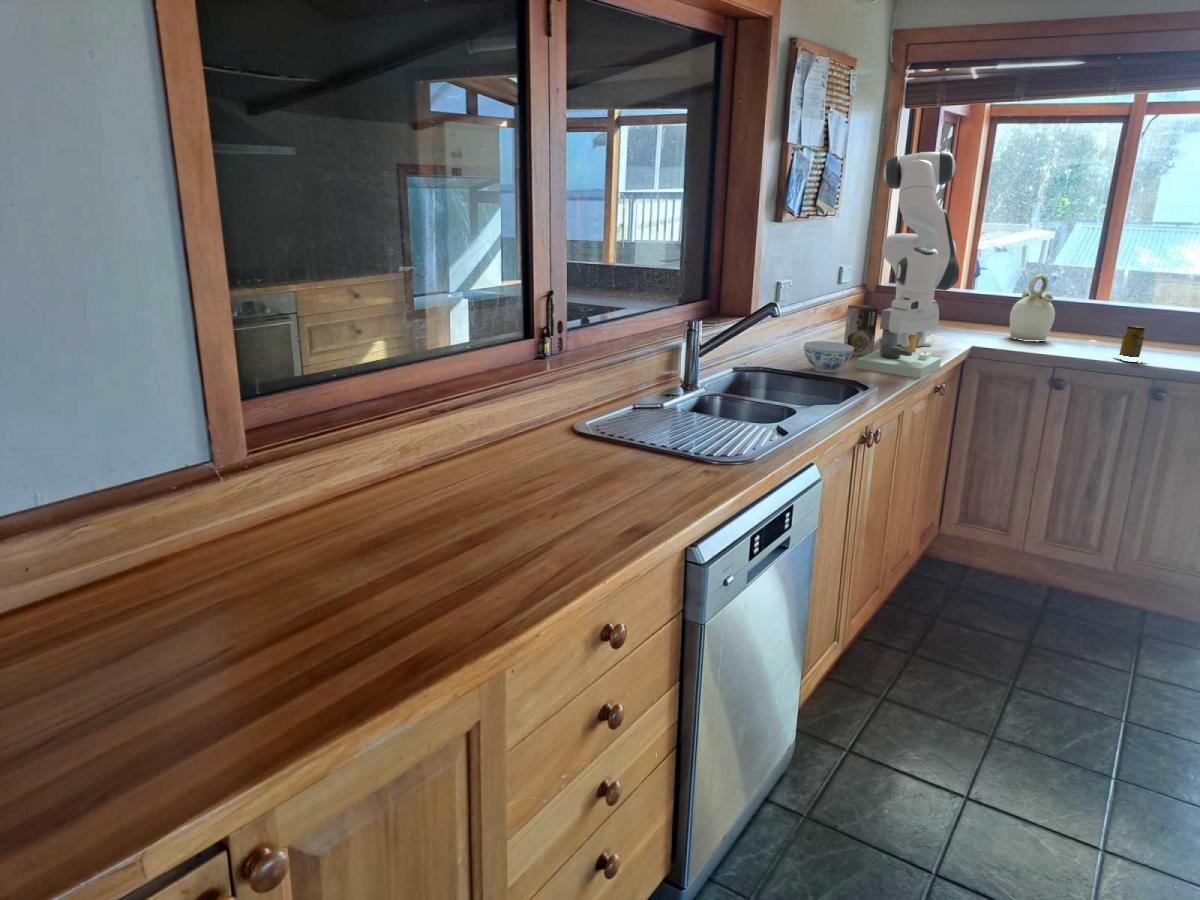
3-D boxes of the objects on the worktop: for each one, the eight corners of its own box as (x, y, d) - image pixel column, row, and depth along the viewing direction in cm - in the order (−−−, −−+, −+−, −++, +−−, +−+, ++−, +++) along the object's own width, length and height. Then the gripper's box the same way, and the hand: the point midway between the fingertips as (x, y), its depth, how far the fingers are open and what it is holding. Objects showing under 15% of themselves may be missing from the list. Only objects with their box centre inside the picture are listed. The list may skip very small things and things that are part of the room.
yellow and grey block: (876, 355, 273) (880, 330, 271) (888, 353, 276) (892, 329, 274) (906, 362, 264) (910, 336, 262) (918, 360, 267) (922, 335, 265)
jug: (1057, 344, 324) (1070, 277, 316) (1016, 342, 324) (1029, 276, 316) (1038, 336, 339) (1050, 273, 331) (999, 335, 339) (1010, 271, 331)
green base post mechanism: (878, 357, 286) (885, 307, 280) (939, 367, 275) (948, 314, 270) (855, 368, 268) (862, 314, 263) (920, 378, 258) (929, 322, 252)
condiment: (1131, 358, 301) (1139, 325, 298) (1147, 363, 293) (1155, 329, 289) (1111, 358, 301) (1119, 324, 297) (1126, 363, 293) (1134, 328, 289)
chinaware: (848, 378, 255) (851, 352, 252) (797, 372, 260) (800, 347, 257) (852, 368, 268) (855, 344, 266) (804, 363, 273) (807, 339, 271)
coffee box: (868, 352, 294) (875, 305, 289) (872, 356, 288) (879, 308, 283) (842, 351, 295) (847, 304, 290) (845, 354, 289) (851, 307, 284)
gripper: (929, 298, 269) (922, 341, 274) (888, 301, 258) (881, 346, 262) (947, 301, 264) (940, 345, 269) (905, 304, 253) (899, 350, 257)
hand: (911, 346), depth 265 cm, fingers open, 4 cm apart
